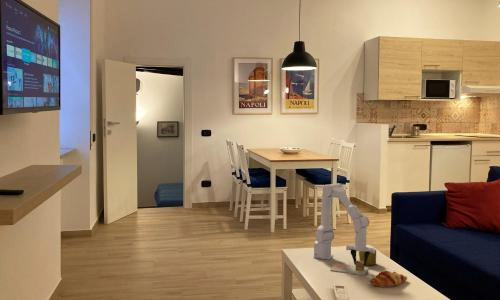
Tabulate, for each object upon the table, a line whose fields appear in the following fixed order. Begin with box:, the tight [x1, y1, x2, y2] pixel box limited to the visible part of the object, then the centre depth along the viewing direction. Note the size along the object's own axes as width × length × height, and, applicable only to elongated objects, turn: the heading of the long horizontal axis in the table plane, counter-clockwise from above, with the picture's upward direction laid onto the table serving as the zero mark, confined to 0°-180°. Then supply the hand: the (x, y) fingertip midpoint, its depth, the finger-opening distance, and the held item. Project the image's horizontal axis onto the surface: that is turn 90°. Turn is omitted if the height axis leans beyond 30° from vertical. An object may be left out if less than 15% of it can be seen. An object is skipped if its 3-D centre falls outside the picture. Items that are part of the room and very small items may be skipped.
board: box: [330, 262, 369, 276], centre depth 247 cm, size 18×11×1 cm, turn 68°
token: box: [354, 260, 365, 271], centre depth 245 cm, size 4×4×4 cm
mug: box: [358, 247, 377, 266], centre depth 257 cm, size 12×10×10 cm
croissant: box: [369, 270, 408, 288], centre depth 227 cm, size 21×10×8 cm, turn 111°
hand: (360, 264), depth 245 cm, fingers open, 4 cm apart
